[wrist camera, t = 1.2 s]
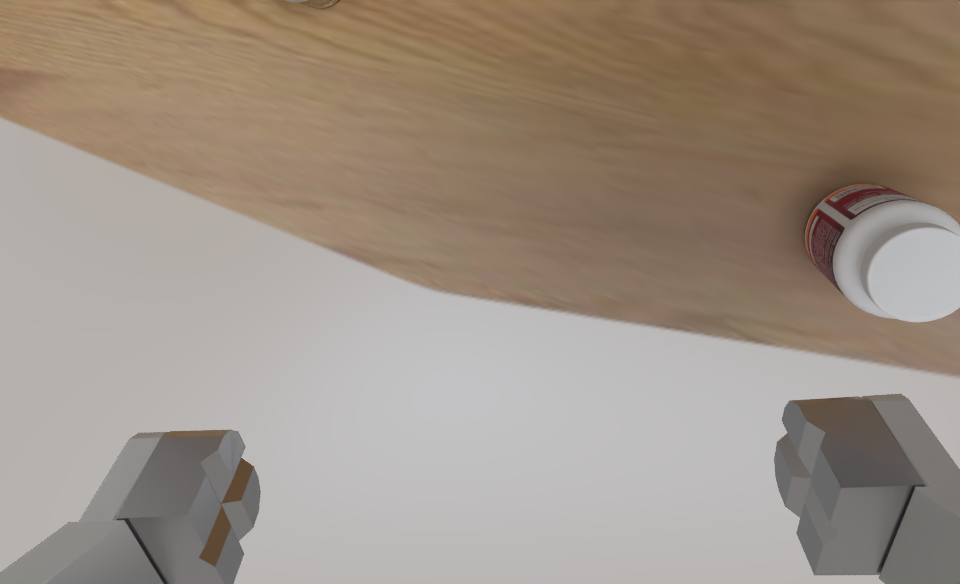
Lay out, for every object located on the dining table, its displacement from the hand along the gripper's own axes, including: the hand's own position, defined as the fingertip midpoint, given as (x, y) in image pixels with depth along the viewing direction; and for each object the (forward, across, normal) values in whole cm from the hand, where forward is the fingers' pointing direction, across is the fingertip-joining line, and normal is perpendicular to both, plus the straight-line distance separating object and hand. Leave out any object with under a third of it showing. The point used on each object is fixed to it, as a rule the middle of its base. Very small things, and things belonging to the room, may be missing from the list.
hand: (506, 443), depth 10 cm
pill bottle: (+30, -21, +15) cm, 40 cm away
